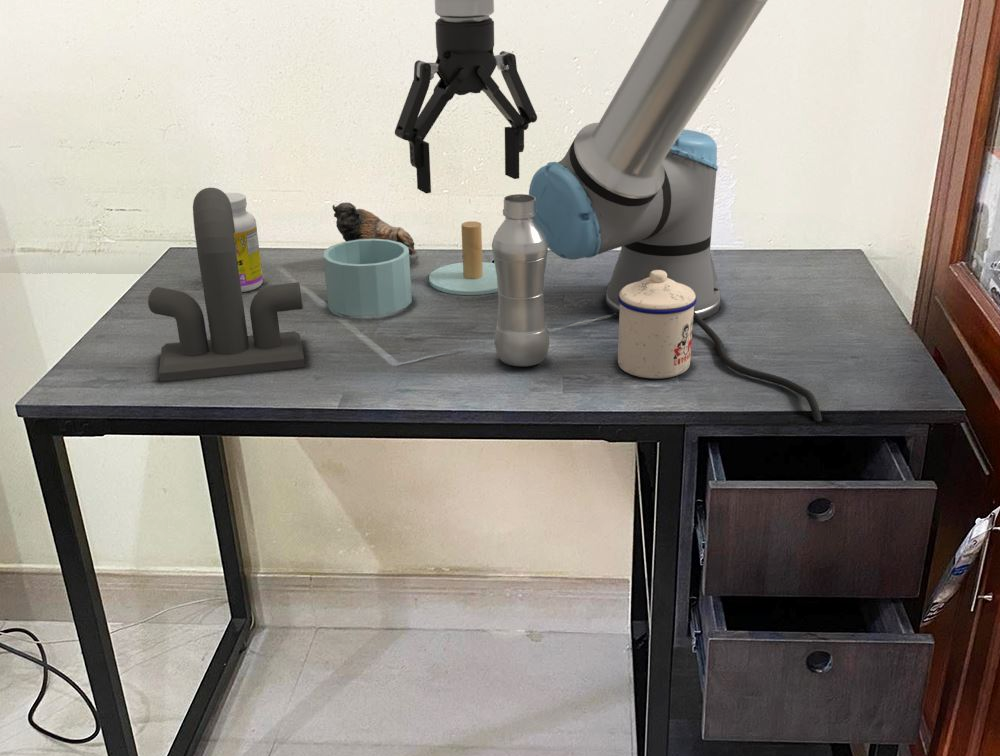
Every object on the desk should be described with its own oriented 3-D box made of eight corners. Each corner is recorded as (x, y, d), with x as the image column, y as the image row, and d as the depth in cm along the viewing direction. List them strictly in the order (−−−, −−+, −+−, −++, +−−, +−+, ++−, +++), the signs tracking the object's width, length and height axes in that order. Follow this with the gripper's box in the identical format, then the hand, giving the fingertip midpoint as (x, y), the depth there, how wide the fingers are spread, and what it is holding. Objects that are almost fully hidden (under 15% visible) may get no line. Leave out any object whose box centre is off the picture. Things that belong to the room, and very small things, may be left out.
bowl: (425, 309, 156) (422, 256, 152) (347, 326, 151) (342, 271, 147) (391, 285, 164) (387, 234, 161) (316, 300, 160) (310, 247, 156)
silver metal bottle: (532, 377, 136) (531, 209, 126) (484, 365, 139) (479, 201, 129) (559, 358, 140) (560, 195, 130) (512, 347, 144) (509, 188, 134)
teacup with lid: (689, 383, 133) (696, 287, 128) (611, 378, 135) (614, 283, 129) (695, 344, 144) (701, 253, 138) (622, 339, 145) (626, 250, 139)
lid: (533, 288, 162) (533, 228, 158) (453, 305, 157) (451, 243, 153) (490, 264, 172) (489, 206, 167) (414, 279, 167) (411, 220, 162)
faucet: (301, 320, 153) (284, 169, 143) (310, 366, 140) (291, 203, 130) (161, 334, 150) (134, 180, 140) (157, 382, 137) (126, 216, 127)
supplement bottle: (207, 290, 164) (193, 201, 157) (233, 276, 169) (221, 189, 163) (247, 296, 162) (235, 205, 155) (272, 281, 167) (261, 193, 160)
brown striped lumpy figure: (418, 260, 174) (414, 193, 169) (420, 275, 168) (416, 207, 163) (338, 264, 173) (332, 197, 168) (337, 279, 167) (331, 210, 162)
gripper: (533, 6, 154) (533, 165, 165) (362, 21, 144) (374, 190, 155) (563, 12, 149) (561, 177, 160) (387, 29, 139) (397, 203, 149)
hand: (469, 183), depth 157 cm, fingers open, 13 cm apart
